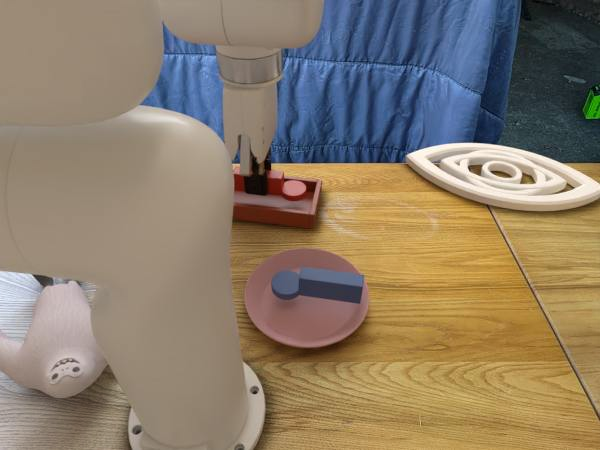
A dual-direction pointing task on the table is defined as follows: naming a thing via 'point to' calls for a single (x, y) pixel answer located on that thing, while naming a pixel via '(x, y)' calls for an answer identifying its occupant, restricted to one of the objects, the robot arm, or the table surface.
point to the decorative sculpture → (504, 190)
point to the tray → (280, 206)
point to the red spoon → (275, 185)
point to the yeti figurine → (55, 343)
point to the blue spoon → (318, 285)
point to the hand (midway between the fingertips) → (258, 187)
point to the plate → (302, 302)
